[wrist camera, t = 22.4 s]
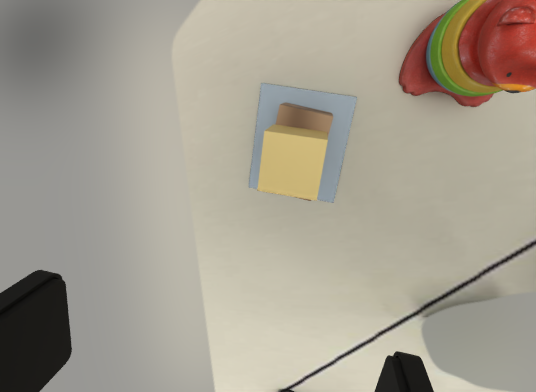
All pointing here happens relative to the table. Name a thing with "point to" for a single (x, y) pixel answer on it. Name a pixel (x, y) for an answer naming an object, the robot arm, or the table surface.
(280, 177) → the cube brick
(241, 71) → the table surface
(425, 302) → the table surface
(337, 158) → the base board
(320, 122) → the long brick
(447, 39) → the stacking bear
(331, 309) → the table surface
